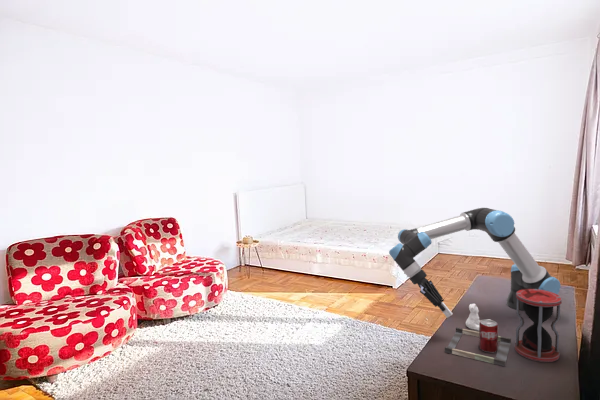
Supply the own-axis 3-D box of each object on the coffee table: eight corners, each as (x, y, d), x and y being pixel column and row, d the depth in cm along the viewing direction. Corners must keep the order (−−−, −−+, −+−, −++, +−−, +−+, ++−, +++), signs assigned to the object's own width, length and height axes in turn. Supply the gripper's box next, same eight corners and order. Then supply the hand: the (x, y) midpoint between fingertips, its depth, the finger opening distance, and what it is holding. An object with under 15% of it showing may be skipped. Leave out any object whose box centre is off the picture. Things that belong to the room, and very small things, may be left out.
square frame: (456, 331, 186) (456, 327, 186) (510, 342, 173) (511, 338, 173) (444, 352, 168) (444, 347, 168) (504, 366, 155) (504, 361, 155)
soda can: (500, 353, 165) (500, 326, 163) (482, 353, 165) (482, 326, 164) (493, 345, 172) (494, 319, 170) (476, 344, 173) (476, 318, 171)
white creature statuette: (487, 333, 183) (487, 308, 182) (467, 331, 185) (467, 307, 184) (482, 324, 192) (482, 300, 191) (463, 323, 194) (464, 300, 193)
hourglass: (555, 346, 168) (557, 290, 165) (563, 365, 154) (565, 304, 151) (513, 340, 175) (514, 286, 172) (516, 358, 160) (518, 300, 157)
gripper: (413, 273, 190) (446, 314, 184) (404, 281, 180) (440, 325, 173) (425, 265, 187) (459, 306, 181) (417, 273, 176) (453, 317, 170)
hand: (449, 315), depth 177 cm, fingers closed
